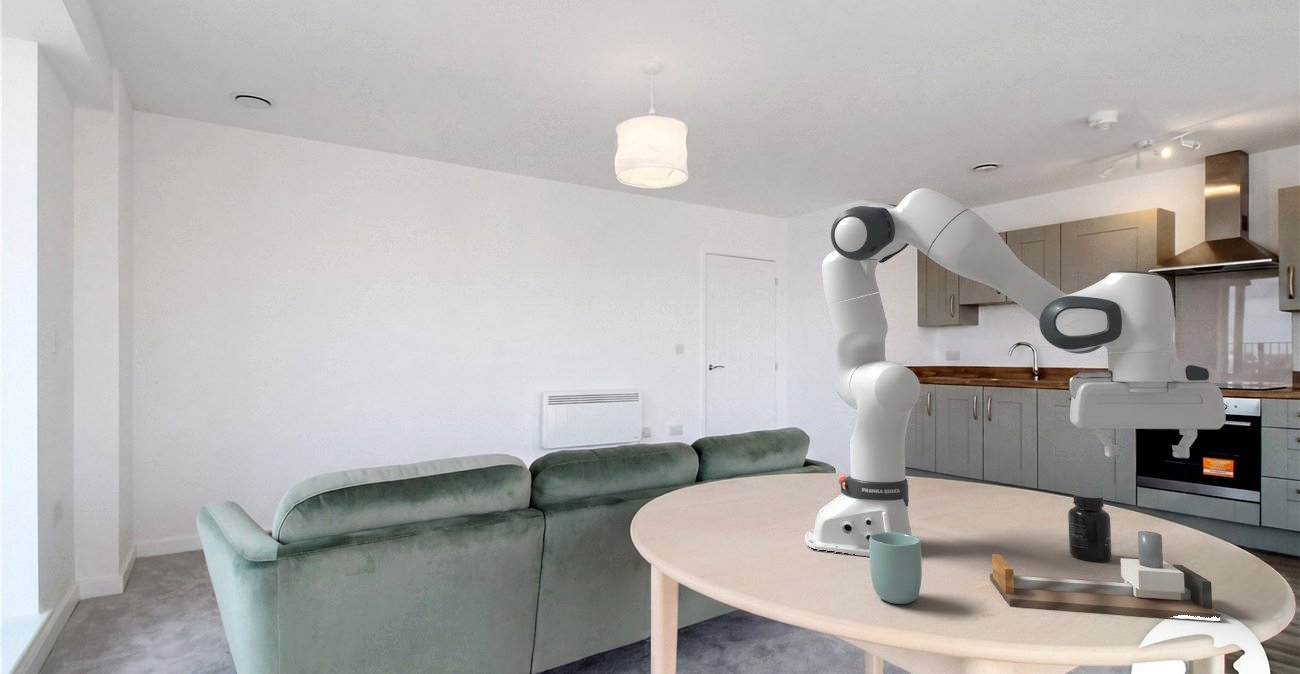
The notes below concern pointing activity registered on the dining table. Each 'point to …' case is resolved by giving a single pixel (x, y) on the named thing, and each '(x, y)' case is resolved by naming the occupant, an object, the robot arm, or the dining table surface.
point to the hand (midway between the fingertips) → (1146, 457)
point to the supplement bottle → (1089, 529)
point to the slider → (1152, 570)
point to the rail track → (1099, 594)
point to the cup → (895, 566)
